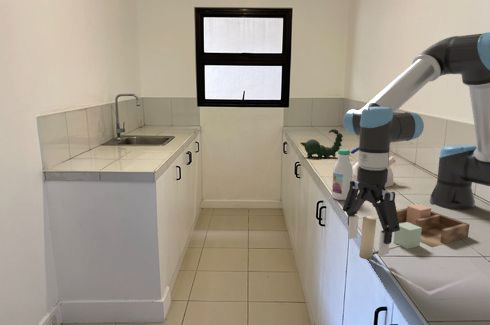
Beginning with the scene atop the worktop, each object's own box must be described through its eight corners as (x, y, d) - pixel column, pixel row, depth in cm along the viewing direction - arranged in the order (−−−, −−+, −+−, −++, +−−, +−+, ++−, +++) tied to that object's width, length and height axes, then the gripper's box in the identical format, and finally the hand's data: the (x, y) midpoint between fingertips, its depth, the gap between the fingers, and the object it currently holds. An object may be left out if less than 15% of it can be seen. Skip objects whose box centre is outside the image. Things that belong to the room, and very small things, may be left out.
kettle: (398, 189, 167) (401, 148, 163) (349, 186, 171) (352, 147, 167) (390, 177, 186) (393, 141, 182) (347, 175, 190) (349, 140, 186)
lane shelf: (415, 218, 131) (416, 205, 130) (467, 238, 115) (469, 224, 114) (381, 226, 124) (382, 213, 123) (432, 249, 108) (433, 234, 107)
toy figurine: (338, 158, 238) (298, 154, 240) (342, 129, 233) (302, 125, 236) (339, 162, 229) (298, 157, 231) (344, 131, 224) (302, 126, 227)
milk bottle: (348, 194, 158) (350, 148, 154) (353, 200, 151) (356, 151, 147) (329, 195, 158) (332, 148, 154) (334, 201, 151) (337, 151, 146)
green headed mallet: (404, 243, 113) (409, 208, 111) (419, 249, 109) (423, 213, 107) (354, 253, 105) (358, 216, 103) (367, 261, 100) (371, 222, 98)
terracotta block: (416, 220, 128) (418, 203, 127) (429, 225, 124) (431, 208, 122) (406, 222, 126) (407, 205, 124) (418, 228, 121) (420, 210, 120)
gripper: (332, 160, 107) (328, 232, 111) (398, 179, 86) (390, 267, 91) (352, 157, 110) (348, 228, 115) (421, 175, 89) (412, 260, 94)
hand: (367, 245), depth 103 cm, fingers open, 11 cm apart
